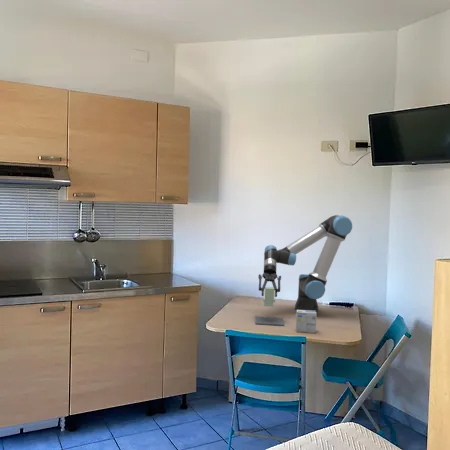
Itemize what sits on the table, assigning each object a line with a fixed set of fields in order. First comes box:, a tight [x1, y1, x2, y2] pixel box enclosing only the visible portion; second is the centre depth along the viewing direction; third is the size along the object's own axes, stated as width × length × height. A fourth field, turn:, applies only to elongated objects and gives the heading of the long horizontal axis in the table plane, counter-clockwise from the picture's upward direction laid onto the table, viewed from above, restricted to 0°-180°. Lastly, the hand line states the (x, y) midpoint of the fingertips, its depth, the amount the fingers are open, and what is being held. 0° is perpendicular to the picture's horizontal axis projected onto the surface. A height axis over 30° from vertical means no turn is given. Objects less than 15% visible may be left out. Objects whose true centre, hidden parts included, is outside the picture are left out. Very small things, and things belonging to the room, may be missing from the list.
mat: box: [254, 315, 285, 327], centre depth 267 cm, size 16×16×1 cm
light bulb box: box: [295, 310, 318, 334], centre depth 250 cm, size 11×7×11 cm, turn 84°
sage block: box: [263, 286, 274, 308], centre depth 266 cm, size 5×5×10 cm
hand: (269, 300), depth 263 cm, fingers closed on sage block, 5 cm apart
